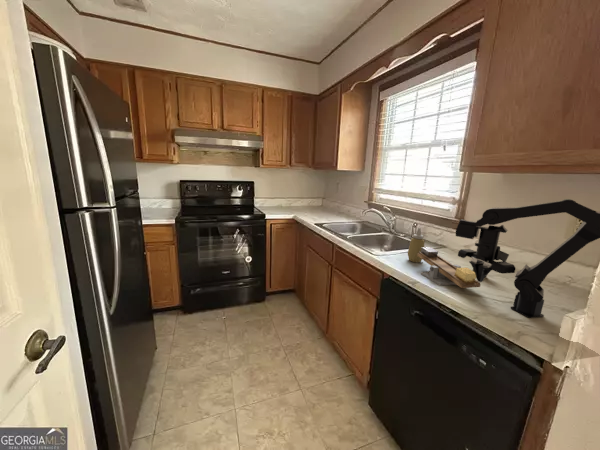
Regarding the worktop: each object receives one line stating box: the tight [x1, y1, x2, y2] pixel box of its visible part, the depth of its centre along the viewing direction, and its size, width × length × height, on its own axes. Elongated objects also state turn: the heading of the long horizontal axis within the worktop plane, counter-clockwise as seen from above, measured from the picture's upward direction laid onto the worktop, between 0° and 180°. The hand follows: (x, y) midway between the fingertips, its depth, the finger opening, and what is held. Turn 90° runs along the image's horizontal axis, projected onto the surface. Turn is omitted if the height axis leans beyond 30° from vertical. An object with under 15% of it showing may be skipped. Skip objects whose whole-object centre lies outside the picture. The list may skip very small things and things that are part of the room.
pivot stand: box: [420, 264, 462, 286], centre depth 113 cm, size 12×15×6 cm
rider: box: [454, 267, 477, 283], centre depth 102 cm, size 5×5×4 cm
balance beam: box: [417, 252, 482, 289], centre depth 112 cm, size 28×9×2 cm, turn 12°
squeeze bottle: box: [407, 227, 425, 263], centre depth 134 cm, size 8×8×18 cm
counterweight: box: [421, 246, 439, 258], centre depth 122 cm, size 5×5×3 cm
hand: (479, 281), depth 96 cm, fingers closed
